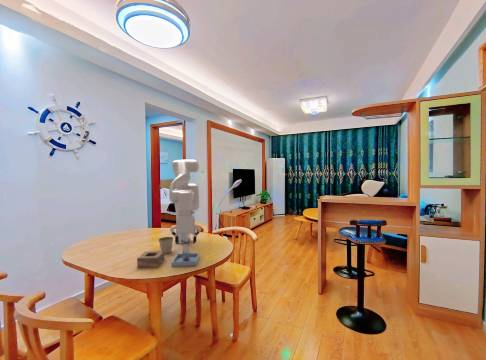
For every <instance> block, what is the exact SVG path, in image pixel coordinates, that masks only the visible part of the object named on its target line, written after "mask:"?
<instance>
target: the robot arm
mask: <svg viewBox="0 0 486 360" xmlns="http://www.w3.org/2000/svg"><path fill="white" fill-rule="evenodd" d="M171 167H172V171H173V173H174V175H175V176H174V177H175V178H174V179H173V180H172V182H171V183H170V185H169V187H168V188H169V190H168V191H169V193H168V196H169V201H170V202H171V203H172V204H174V208H175V209H174V210H175V219H176V220H175V221H176V223H175V224H176V225H175V226H173V227H171V228H170V229H169V231H170V233H171V235H173V238H174V244H176V245H178V244H181V245H182V242H181V240H182V239H185V238H189V239H190V242H189V243H192V242H193V244H196V242H197V236H198V235H199V234H200V232H201V230H202V227H200V226H197V225H196V223H195V221H196V220H195V215H194V214H196V213H195V212H196V211H199V210H200V209H199V208H200V189H199V185H198V184H197V183H189V182H190V180H191V173H197V172H198V171H199V168H200V165H199V162H198V160H197V159H175V160H173V161H172V163H171ZM174 230H175V231H174ZM196 230H197V231H196ZM191 235H192V236H193V238H192V237H191Z"/></svg>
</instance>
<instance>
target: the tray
mask: <svg viewBox="0 0 486 360" xmlns="http://www.w3.org/2000/svg"><path fill="white" fill-rule="evenodd" d="M199 260H200V252H190V261H183V253H176V254H175V256H174V258H173V259H172V260H171V267H172V268H174V267H175V268H177V267H178V268H179V267H197V265H198V263H199V262H198V261H199Z"/></svg>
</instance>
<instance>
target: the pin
mask: <svg viewBox="0 0 486 360" xmlns="http://www.w3.org/2000/svg"><path fill="white" fill-rule="evenodd" d="M181 242H182V244H181V245H182V254H183V261H190V253H191V252H190V251H191V250H190V243H191V242H190V239H189V238H185V239H182V240H181Z"/></svg>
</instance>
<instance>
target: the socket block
mask: <svg viewBox="0 0 486 360" xmlns="http://www.w3.org/2000/svg"><path fill="white" fill-rule="evenodd" d="M136 261H137V263H136V264H137V266H136V267H137V269H142V268H159V267H160V266H161V265H162V263H163V262H164V261H165V254H164V251H161V250H150V251H149V250H148V251H147V250H145V251H143V253H142V254H141V255H139V256H138V257H137V258H136Z"/></svg>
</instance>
